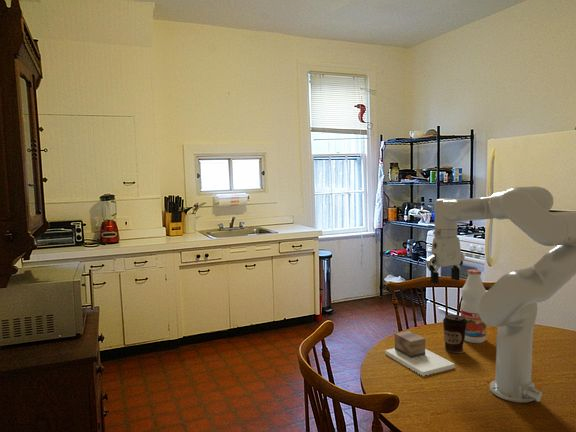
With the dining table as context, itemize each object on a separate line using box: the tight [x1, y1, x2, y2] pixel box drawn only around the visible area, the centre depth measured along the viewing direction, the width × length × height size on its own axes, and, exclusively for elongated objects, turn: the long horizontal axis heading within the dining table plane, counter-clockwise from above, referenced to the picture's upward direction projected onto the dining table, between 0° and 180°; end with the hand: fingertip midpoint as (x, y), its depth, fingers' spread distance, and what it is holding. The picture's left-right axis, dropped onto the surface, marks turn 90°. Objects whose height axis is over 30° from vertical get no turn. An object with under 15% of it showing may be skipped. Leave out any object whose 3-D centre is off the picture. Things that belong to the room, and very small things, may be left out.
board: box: [384, 347, 456, 377], centre depth 153 cm, size 20×14×2 cm
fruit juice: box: [460, 268, 487, 344], centre depth 171 cm, size 9×9×28 cm
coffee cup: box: [442, 314, 467, 354], centre depth 161 cm, size 9×8×13 cm
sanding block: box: [394, 330, 426, 358], centre depth 157 cm, size 9×6×6 cm
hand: (445, 281), depth 153 cm, fingers open, 9 cm apart
